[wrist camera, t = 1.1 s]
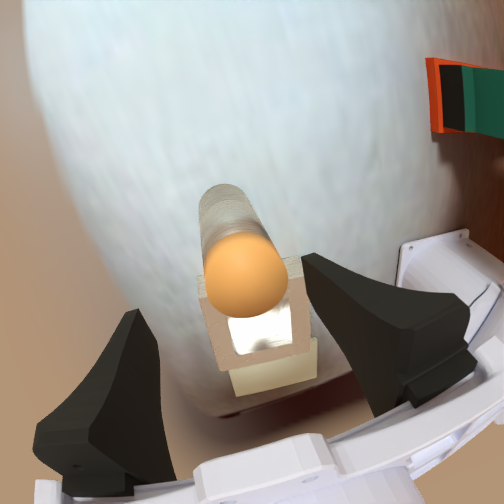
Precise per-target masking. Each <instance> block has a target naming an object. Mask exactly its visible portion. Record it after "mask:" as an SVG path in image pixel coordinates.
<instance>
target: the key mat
mask: <svg viewBox="0 0 504 504" xmlns="http://www.w3.org/2000/svg"><path fill="white" fill-rule="evenodd" d="M228 371H229V375H230V378H231V381H232V385H233V388H234V391H235V395H236V397H238V396H243V395H248V394H253V393H257V392H262V391H266V390H271V389H275V388H279V387H283V386H287V385H291V384H295V383H298V382H302V381H306V380H309V379H313V378H317V338H316V337H313V338H311V351H309V352H305V353H302V354H298V355H294V356H290V357H286V358H282V359H278V360H274V361H269V362H265V363H261V364H256V365H252V366H247V367H242V368H238V369H233V370H228Z"/></svg>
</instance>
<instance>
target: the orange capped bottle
mask: <svg viewBox="0 0 504 504" xmlns="http://www.w3.org/2000/svg"><path fill="white" fill-rule="evenodd" d="M199 222H200V234H201V246H202V257H203V267H204V278H205V287H206V294H207V297H208V299H209V301H210V303H211V304H212V306H213V307H214V308H215V309H216V310H218V311H219V312H221V313H222V314H224V315H227V316H230V317H233V318H252V317H256V316H259V315H262V314H264V313H266V312H268V311H270V310H271V309H272V308H274V307H275V306H276V305H277V304H278V303H279V302H280V301H281V299H282V298H283V296H284V295H285V292H286V290H287V287H288V272H287V269H286V267H285V265H284V263H283V261H282V259H281V257H280V256H279V254H278V252H277V250H276V248H275V246H274V245H273V243H272V241H271V239H270V237H269V236H268V234H267V232H266V230H265V229H264V227H263V225H262V223H261V221H260V220H259V218H258V216H257V214H256V212H255V211H254V209H253V207H252V205H251V204H250V202H249V200H248V198H247V197H246V195H245V193H244V192H243V191H242V190H241V189H239V188H238V187H236V186H234V185H230V184H220V185H216V186H213V187H212V188H210V189H209V190H207V191H206V192H205V193H204V195H203V196H202V198H201V200H200V203H199Z"/></svg>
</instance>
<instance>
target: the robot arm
mask: <svg viewBox="0 0 504 504" xmlns="http://www.w3.org/2000/svg"><path fill="white" fill-rule="evenodd" d="M468 237H469V230H468V229H467V228H464V229H460V230H456V231H452V232H449V233H445V234H441V235H437V236H433V237H429V238H425V239H421V240H416V241H412V242H408V243H405V244H403V245H402V246H401V249H400V257H399V266H398V273H397V281H396V286H392V285H388V284H385V283H382V282H379V281H375V280H372V279H370V278H367V277H364V276H362V275H360V274H357V273H355V272H353V271H350V270H348V269H346V268H344V267H342V266H340V265H338V264H336V263H334V262H332V261H330V260H328V259H326V258H324V257H322V256H320V255H318V254H316V253H311V254H308V255H305V256H302V257H301V261H302V267H303V273H304V280H305V287H306V293H307V296H308V298H309V300H310V302H311V304H312V306H313V308H314V310H315V312H316V313H317V315H318V316H319V318H320V319H321V320H322V322H323V323H324V325H325V326H326V328H327V329H328V331H329V332H330V333H331V335H332V336H333V338H334V339H335V341H336V342H337V343H338V345H339V346H340V348H341V350H342V351H343V353H344V354H345V356H346V358H347V360H348V362H349V364H350V366H351V368H352V370H353V372H354V374H355V375H356V377H357V380H358V382H359V384H360V385H361V388H362V390H363V392H364V394H365V397H366V399H367V401H368V403H369V405H370V408H371V410H372V413H373V415H374V417H375V418H374V419H372V420H370V421H368V422H366V423H364V424H362V425H359V426H357V427H355V428H353V429H351V430H348V431H346V432H344V433H341V434H339V435H336V436H334V437H332V438H329V439H327V440H326V438H325V437H324V436H323V435H321V434H318V433H304V434H300V435H296V436H291V437H288V438H285V439H282V440H279V441H276V442H273V443H270V444H266V445H263V446H260V447H256V448H253V449H249V450H246V451H242V452H238V453H235V454H231V455H227V456H222V457H219V458H215V459H212V460H209V461H206V462H203V463H201V464H200V465H199V466H198V467H197V468H196V469H195V470H194V471H193V475H194V478H191V479H184V480H178V481H177V479H176V476H175V473H174V469H173V466H172V462H171V458H170V454H169V450H168V446H167V441H166V437H165V431H164V425H163V419H162V413H161V397H160V358H159V351H158V344H157V340H156V339H155V337H154V335H153V334H152V332H151V330H150V328H149V327H148V325H147V323H146V321H145V319H144V318H143V316H142V314H141V312H140V310H139V309H135V310H132V311H128V312H126V313H125V314H124V316H123V318H122V319H121V321H120V323H119V325H118V326H117V328H116V330H115V332H114V333H113V335H112V337H111V339H110V341H109V343H108V344H107V346H106V347H105V349H104V351H103V352H102V354H101V355H100V357H99V359H98V360H97V362H96V363H95V365H94V366H93V368H92V369H91V370H90V372H89V373H88V375H87V376H86V377H85V378H84V380H83V381H82V382H81V383H80V384H79V385H78V387H77V388H76V389H75V390H74V391H73V392H72V394H71V395H70V396H69V397H68V398H67V399H66V400H65V401H64V402H63V403H62V404H60V405H59V406H58V407H57V408H56V409H55V410H54V411H53V412H52V413H50V414H49V415H48V416H46V417H45V418H44V419H43V420H41V421H40V422H39V423H38V424H37V426H36V431H35V437H34V443H33V452H34V454H35V456H36V457H37V458H38V459H39V460H40V461H41V462H43V463H44V464H46V465H47V466H49V467H50V468H52V469H53V470H55V471H56V472H58V473H59V474H61V475H62V476H63V479H62V482H60V481H57V480H42V479H37V480H36V483H35V496H34V504H426V503H425V501H424V499H423V498H422V496H421V494H420V492H419V490H418V489H417V487H416V485H415V483H414V482H413V480H415V479H416V478H418V477H420V476H421V475H423V474H424V473H426V472H427V471H429V470H430V469H432V468H433V467H435V466H436V465H437V464H439V463H440V462H442V461H443V460H445V459H446V458H447V457H449V456H450V455H451V454H453V453H454V452H455V451H457V450H458V449H459V448H461V447H462V446H463V445H464V444H466V443H467V442H468V441H470V440H471V439H472V438H473V437H474V436H476V435H477V434H478V433H479V432H481V431H482V430H483V429H484V428H485V427H486V426H488V425H489V424H490V423H491V422H492V421H493V422H495V423H496V424H498V425H500V424H504V263H503V262H501V261H500V260H499V259H497V258H496V257H495V256H493V255H492V254H490V253H489V252H488V251H486V250H485V249H483V248H482V247H481V246H479V245H478V244H476V243H475V242H473V241H472V240H470V239H469V238H468ZM410 246H411V247H410ZM409 247H410V248H409Z"/></svg>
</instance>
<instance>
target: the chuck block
mask: <svg viewBox="0 0 504 504" xmlns="http://www.w3.org/2000/svg"><path fill="white" fill-rule="evenodd" d="M282 261H283V263H284V265H285V267H286V269H287V272H288V287H287V290H286V292H285V295H284V296H283V298H282V299H281V301H280V302H279V303H278V304H277V305H276V306H275V307H274V308H272V309H271V310H270V311H268V312H266V313H264V314H262V315H259V316H256V317H252V318H233V317H230V316H227V315H224V314H222V313H221V312H219V311H218V310H216V309H215V308H214V307H213V306H212V304H211V303H210V301H209V299H208V297H207V294H206V287H205V278H204V275H201V276H197V284H198V299H199V302H200V306H201V309H202V313H203V316H204V320H205V323H206V327H207V330H208V333H209V337H210V340H211V343H212V347H213V350H214V353H215V357H216V360H217V363H218V366H219V369H220V372H223V371H228V370H233V369H238V368H242V367H247V366H252V365H256V364H261V363H265V362H269V361H274V360H278V359H282V358H286V357H290V356H294V355H298V354H302V353H305V352H309V351H311V329H310V300H309V298H308V296H307V293H306V287H305V280H304V273H303V267H302V263H301V262H300V260H299V259H298V257H297V256H293V257H288V258H284V259H282Z"/></svg>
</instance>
